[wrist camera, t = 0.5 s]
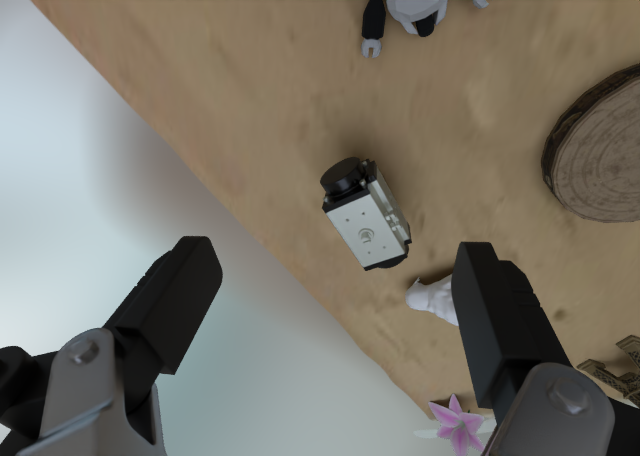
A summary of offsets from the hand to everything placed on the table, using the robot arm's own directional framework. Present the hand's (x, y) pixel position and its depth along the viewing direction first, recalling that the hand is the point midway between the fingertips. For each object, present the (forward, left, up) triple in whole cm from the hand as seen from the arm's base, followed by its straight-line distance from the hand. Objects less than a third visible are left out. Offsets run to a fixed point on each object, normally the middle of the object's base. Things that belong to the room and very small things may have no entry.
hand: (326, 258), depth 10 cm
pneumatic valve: (+12, +1, -27) cm, 30 cm away
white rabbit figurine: (+29, +12, -27) cm, 42 cm away
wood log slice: (+8, +27, -27) cm, 39 cm away
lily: (+67, +20, -27) cm, 75 cm away
